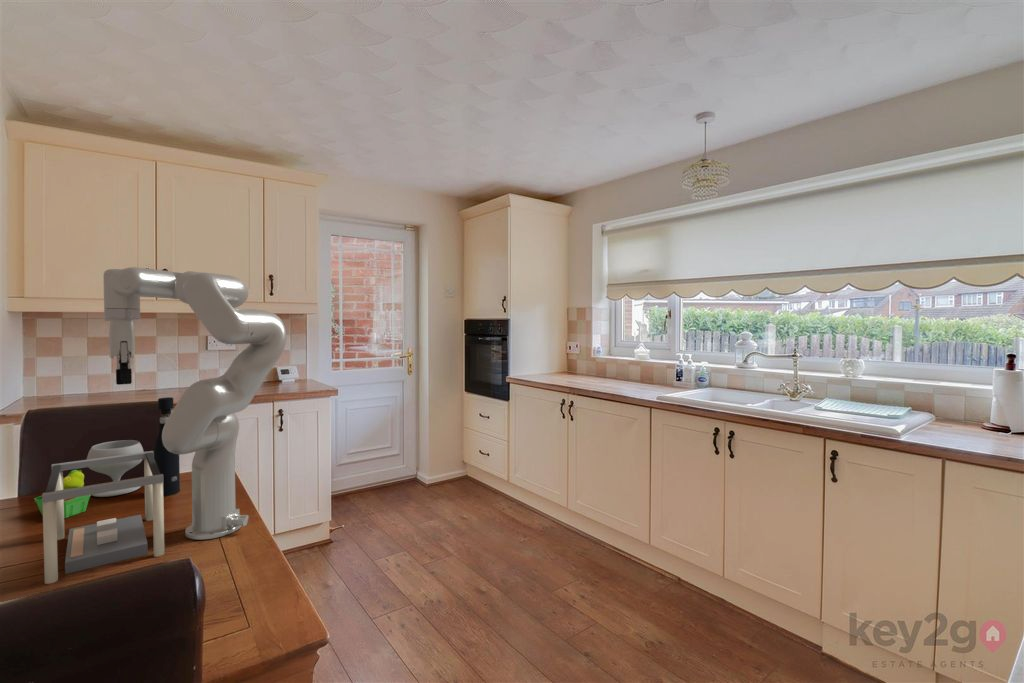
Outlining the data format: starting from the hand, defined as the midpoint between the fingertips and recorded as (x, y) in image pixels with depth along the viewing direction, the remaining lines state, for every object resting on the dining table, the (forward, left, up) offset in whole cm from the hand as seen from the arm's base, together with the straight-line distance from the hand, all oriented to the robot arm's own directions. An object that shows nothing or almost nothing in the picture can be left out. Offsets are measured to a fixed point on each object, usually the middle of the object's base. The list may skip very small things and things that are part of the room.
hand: (124, 383), depth 129 cm
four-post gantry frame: (-9, +15, -37) cm, 41 cm away
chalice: (+22, -20, -37) cm, 48 cm away
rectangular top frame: (-9, +15, -20) cm, 27 cm away
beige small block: (-6, +12, -35) cm, 37 cm away
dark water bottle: (+5, -20, -37) cm, 43 cm away
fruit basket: (+21, -3, -37) cm, 43 cm away
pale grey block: (-12, +18, -35) cm, 41 cm away
